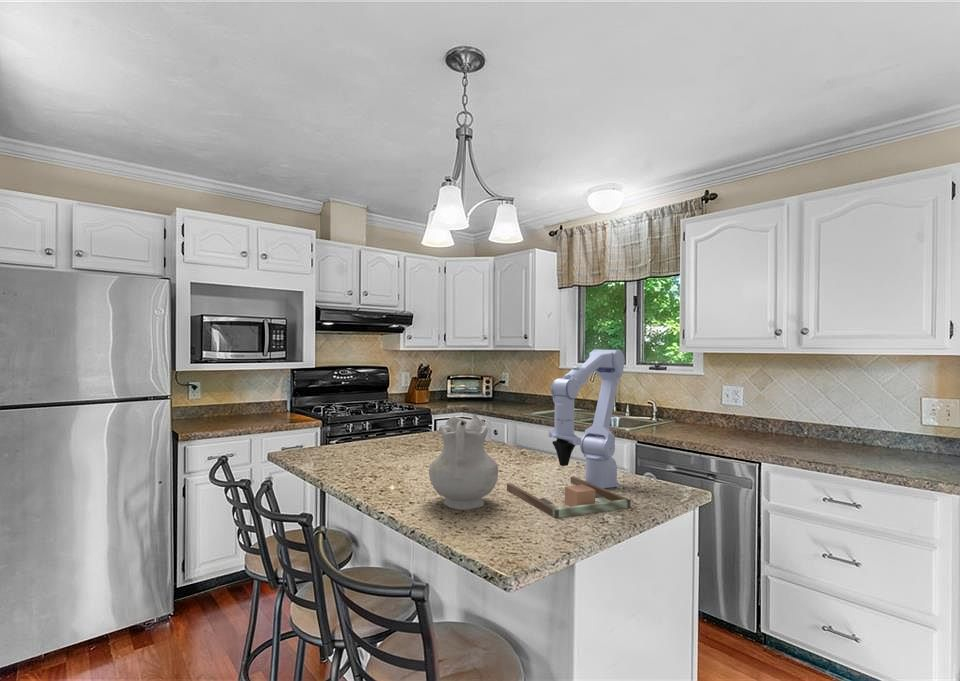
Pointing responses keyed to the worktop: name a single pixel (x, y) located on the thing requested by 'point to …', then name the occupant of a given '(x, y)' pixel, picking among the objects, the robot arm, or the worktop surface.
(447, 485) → the ceramic pitcher
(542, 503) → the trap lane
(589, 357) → the robot arm
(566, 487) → the block
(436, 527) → the worktop surface
